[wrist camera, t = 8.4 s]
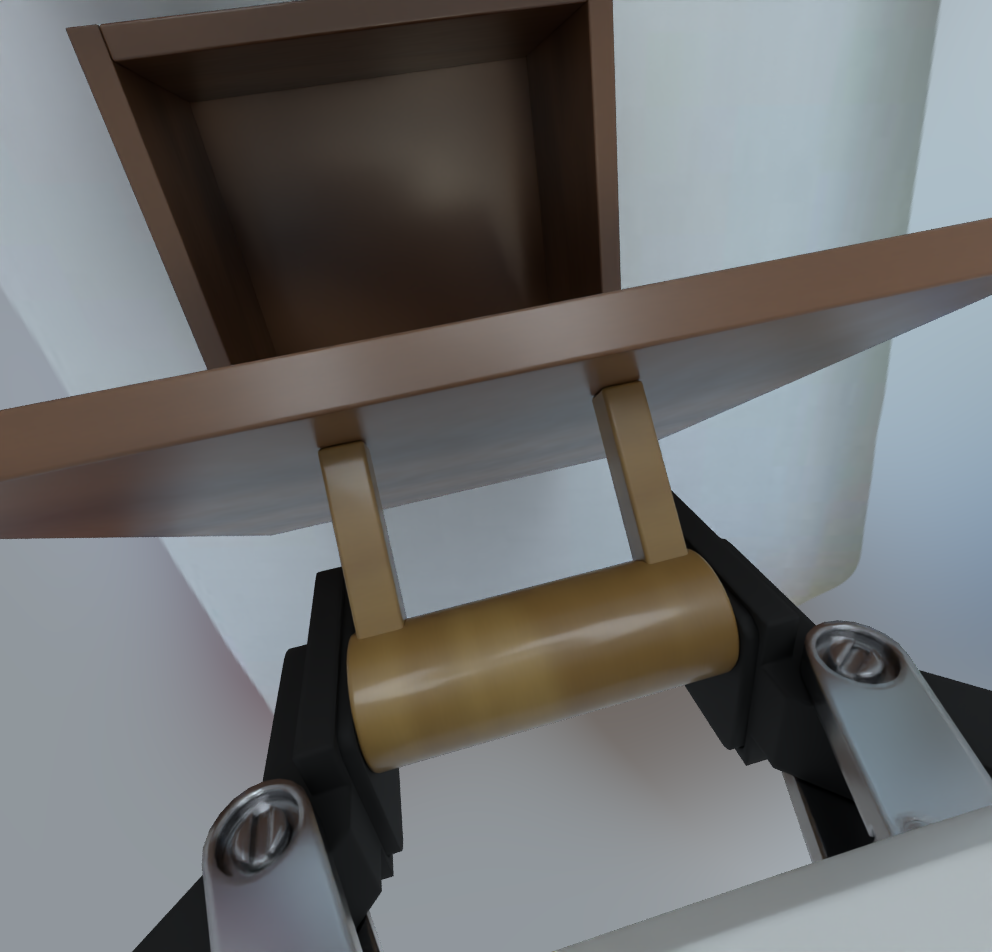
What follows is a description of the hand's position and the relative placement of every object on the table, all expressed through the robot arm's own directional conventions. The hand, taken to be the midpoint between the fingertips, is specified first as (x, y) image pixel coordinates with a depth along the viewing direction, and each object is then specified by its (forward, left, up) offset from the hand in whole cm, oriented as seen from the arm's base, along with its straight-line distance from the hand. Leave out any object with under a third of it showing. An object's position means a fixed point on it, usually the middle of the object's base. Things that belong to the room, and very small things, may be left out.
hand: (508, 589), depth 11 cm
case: (-3, -3, -22) cm, 23 cm away
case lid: (-1, -1, -6) cm, 6 cm away
